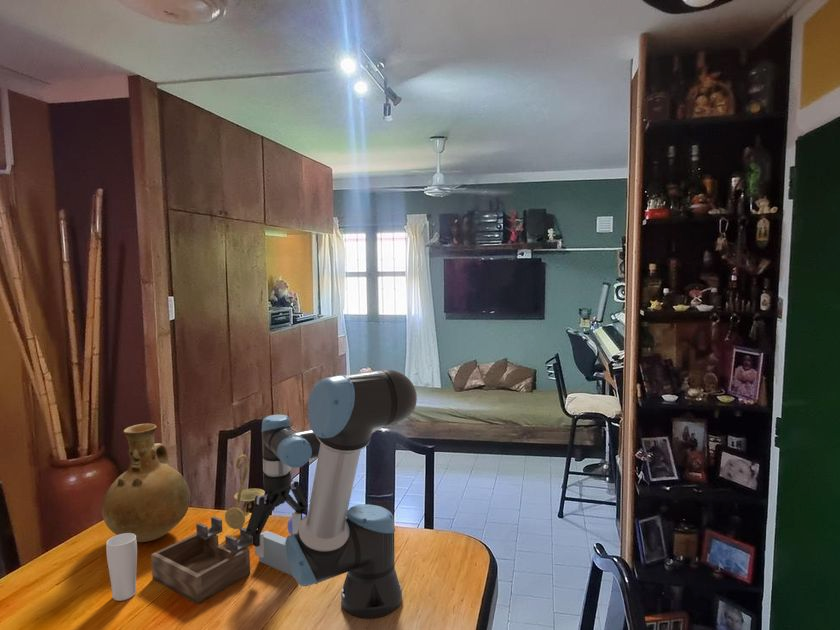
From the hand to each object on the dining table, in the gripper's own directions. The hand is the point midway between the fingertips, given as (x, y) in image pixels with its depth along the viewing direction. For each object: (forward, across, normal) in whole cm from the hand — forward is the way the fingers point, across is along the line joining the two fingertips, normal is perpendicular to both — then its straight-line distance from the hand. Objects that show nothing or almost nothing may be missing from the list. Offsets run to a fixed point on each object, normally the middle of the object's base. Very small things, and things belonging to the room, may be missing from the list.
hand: (278, 544), depth 151 cm
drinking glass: (+6, +31, -22) cm, 39 cm away
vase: (+7, +11, -45) cm, 47 cm away
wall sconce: (+7, -9, -24) cm, 27 cm away
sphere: (+7, -15, -7) cm, 18 cm away
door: (+6, 0, +1) cm, 6 cm away
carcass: (+6, +14, -13) cm, 20 cm away
